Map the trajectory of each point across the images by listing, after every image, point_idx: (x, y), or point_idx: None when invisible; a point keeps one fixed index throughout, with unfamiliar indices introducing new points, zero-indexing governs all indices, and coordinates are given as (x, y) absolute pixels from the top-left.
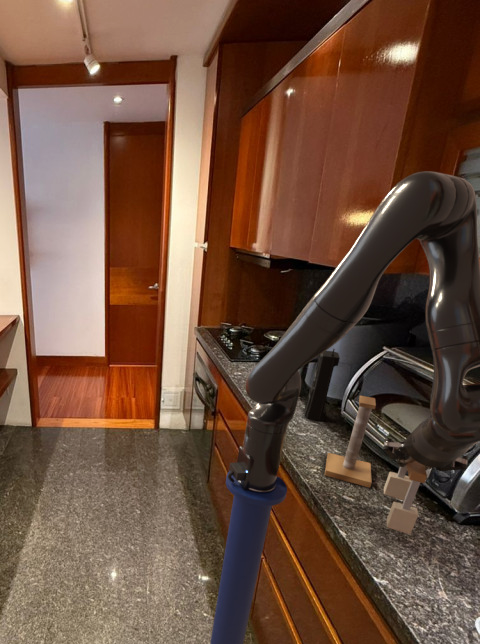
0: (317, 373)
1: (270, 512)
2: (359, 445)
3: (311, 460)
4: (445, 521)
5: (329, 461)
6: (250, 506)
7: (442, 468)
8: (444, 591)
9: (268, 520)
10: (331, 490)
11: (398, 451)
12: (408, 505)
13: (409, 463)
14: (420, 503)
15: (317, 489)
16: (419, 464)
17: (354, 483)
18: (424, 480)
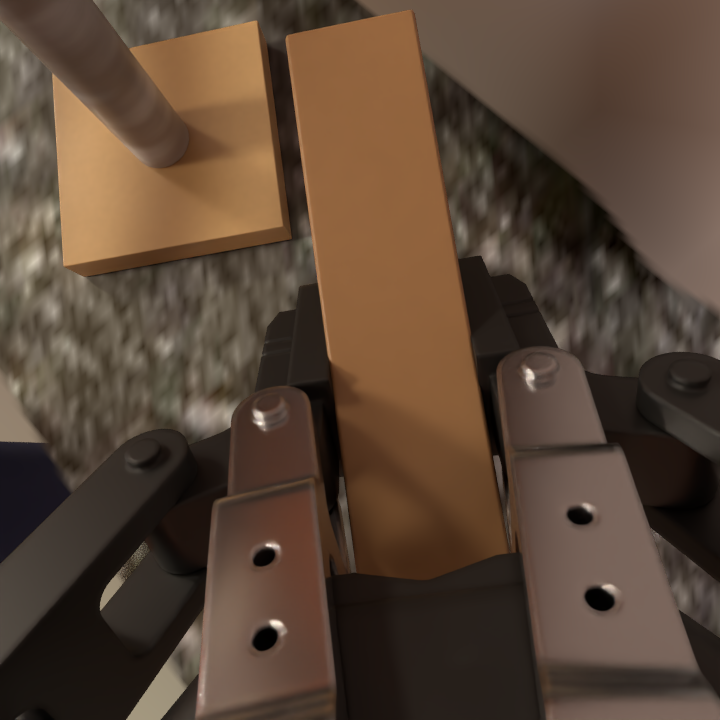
0: None
1: (24, 511)
2: (90, 46)
3: (8, 172)
4: (633, 299)
5: (68, 157)
6: None
7: (713, 573)
8: None
9: (47, 517)
10: (132, 399)
11: (186, 520)
12: None
13: (358, 568)
14: (517, 212)
15: (71, 440)
16: (456, 551)
17: (221, 251)
18: None
